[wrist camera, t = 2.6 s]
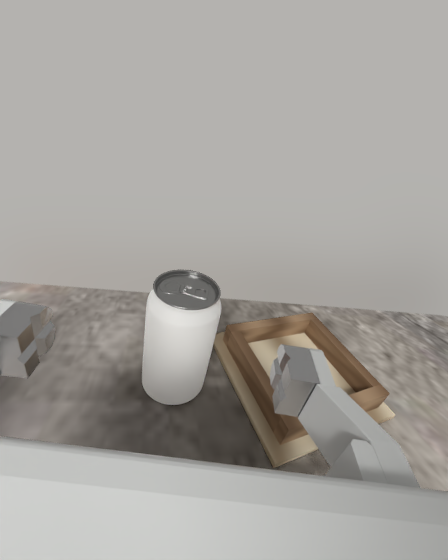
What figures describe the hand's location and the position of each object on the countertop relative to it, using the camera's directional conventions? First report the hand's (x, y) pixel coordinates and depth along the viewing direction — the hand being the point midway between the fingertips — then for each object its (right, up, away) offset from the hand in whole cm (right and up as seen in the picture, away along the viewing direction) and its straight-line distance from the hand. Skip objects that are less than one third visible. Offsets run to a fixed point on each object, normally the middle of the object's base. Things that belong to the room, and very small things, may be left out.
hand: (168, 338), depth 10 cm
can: (-3, -9, +20) cm, 22 cm away
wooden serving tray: (+10, -9, +24) cm, 27 cm away
